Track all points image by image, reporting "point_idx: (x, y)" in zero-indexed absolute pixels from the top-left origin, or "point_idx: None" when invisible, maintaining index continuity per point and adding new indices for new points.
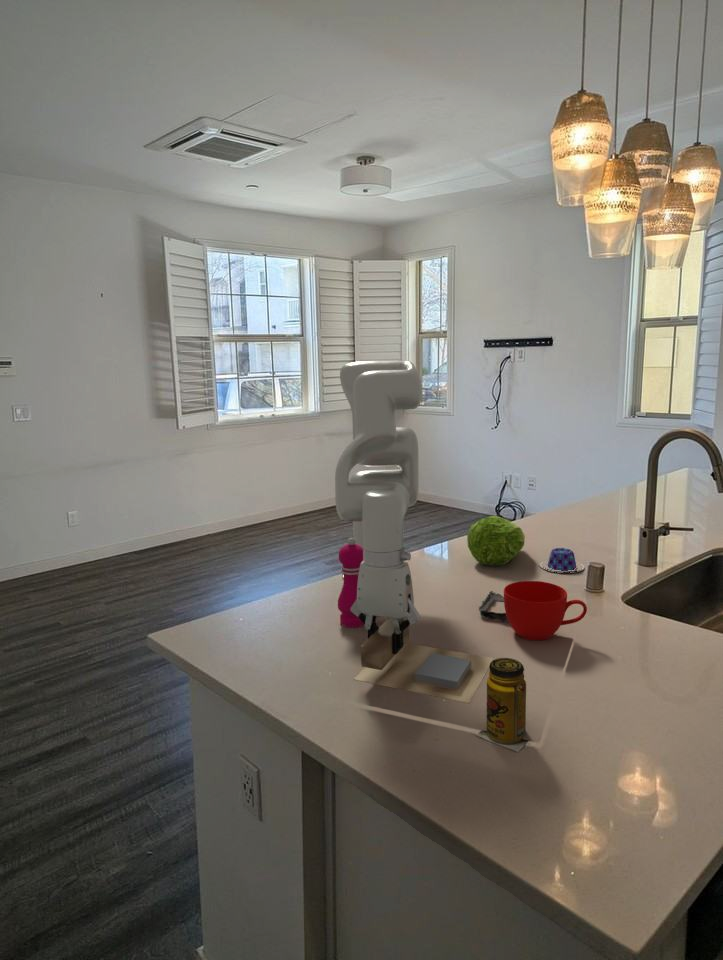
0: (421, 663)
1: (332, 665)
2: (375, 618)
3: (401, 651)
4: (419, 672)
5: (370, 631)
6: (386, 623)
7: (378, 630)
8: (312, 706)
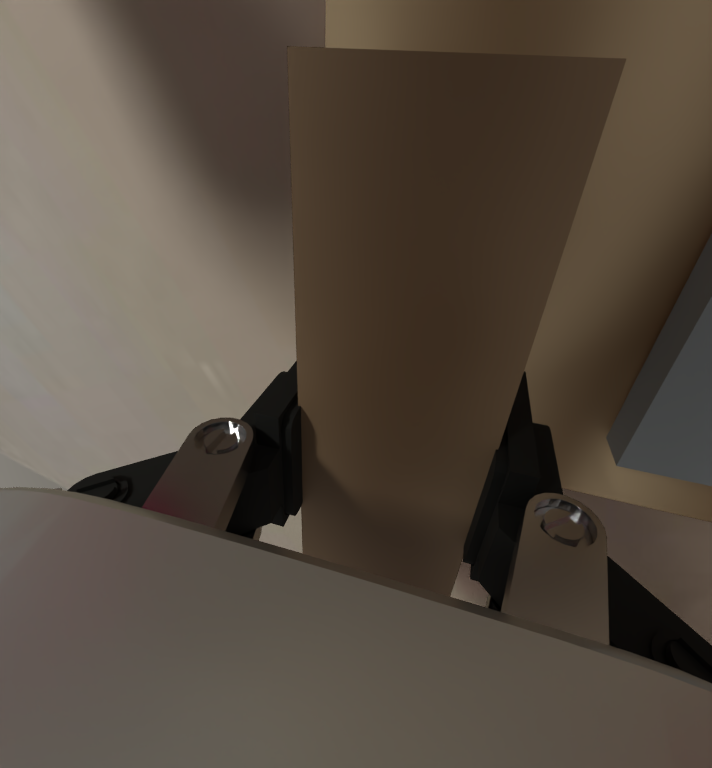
0: (654, 209)
1: (179, 312)
2: (233, 501)
3: (476, 44)
4: (646, 455)
5: (279, 520)
6: (326, 293)
7: (315, 444)
8: (275, 543)
